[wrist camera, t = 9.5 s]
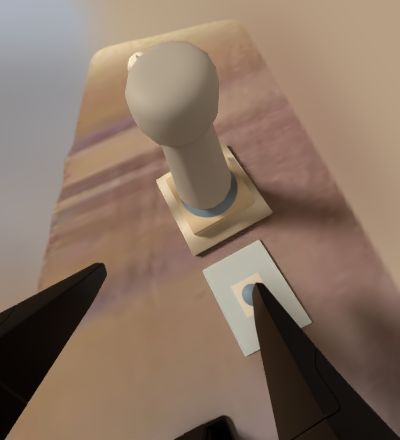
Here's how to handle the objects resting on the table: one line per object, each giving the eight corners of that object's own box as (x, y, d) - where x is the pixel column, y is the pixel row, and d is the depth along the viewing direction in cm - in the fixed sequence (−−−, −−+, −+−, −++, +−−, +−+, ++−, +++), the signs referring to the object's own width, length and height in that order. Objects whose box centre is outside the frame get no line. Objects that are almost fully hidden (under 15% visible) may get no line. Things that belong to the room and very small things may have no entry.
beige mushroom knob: (236, 174, 19) (255, 11, 6) (223, 220, 18) (215, 140, 5) (190, 165, 20) (127, 14, 7) (175, 207, 19) (77, 119, 6)
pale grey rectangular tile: (310, 320, 17) (312, 322, 17) (244, 354, 18) (245, 357, 17) (258, 239, 20) (259, 239, 19) (202, 270, 20) (201, 270, 20)
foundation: (270, 214, 20) (278, 207, 17) (195, 256, 21) (189, 256, 18) (223, 145, 23) (222, 129, 20) (158, 183, 24) (148, 173, 21)
